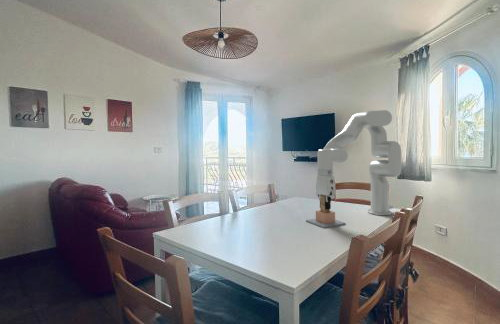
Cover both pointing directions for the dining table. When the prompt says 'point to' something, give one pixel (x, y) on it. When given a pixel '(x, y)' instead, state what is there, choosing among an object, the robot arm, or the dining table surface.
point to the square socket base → (325, 220)
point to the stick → (323, 204)
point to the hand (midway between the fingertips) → (325, 208)
